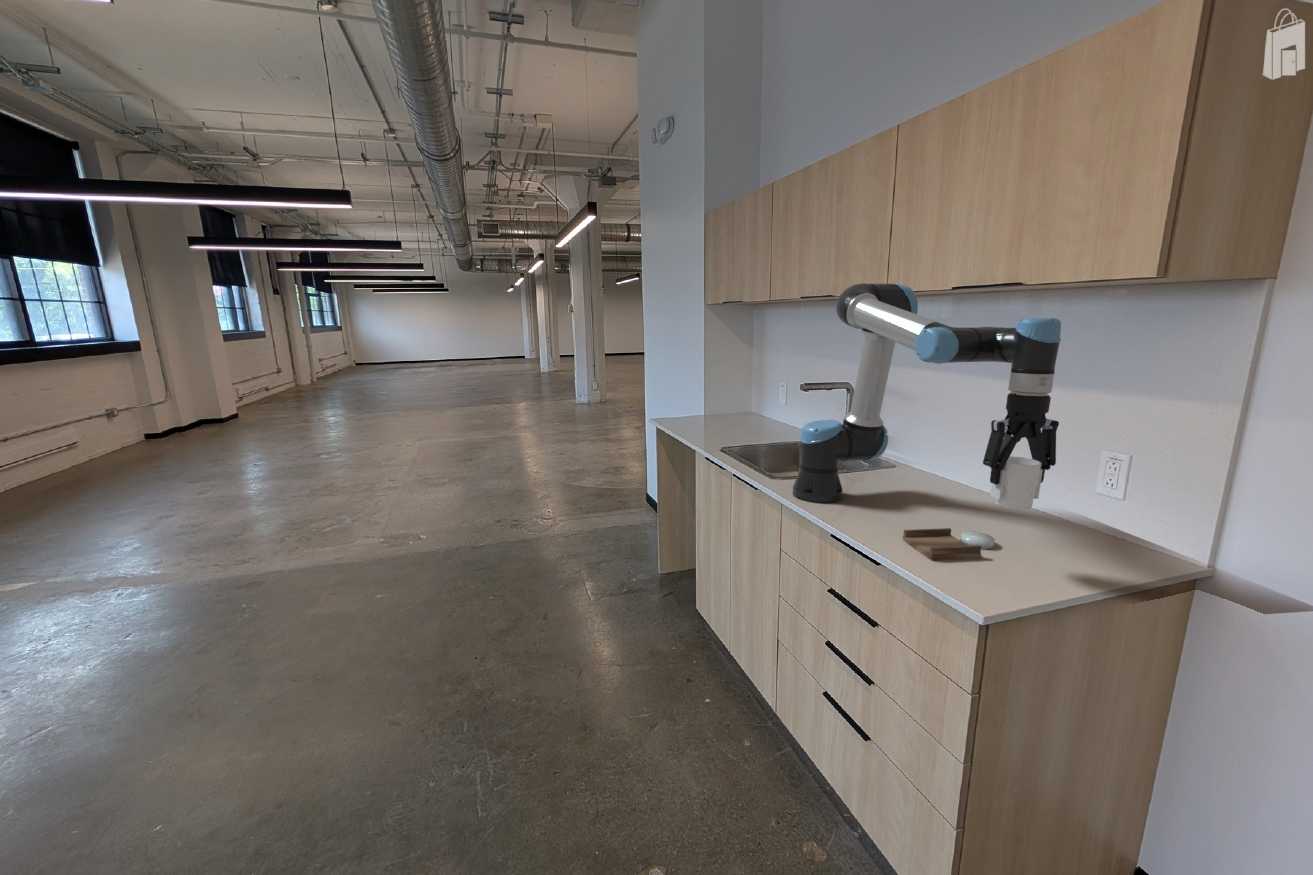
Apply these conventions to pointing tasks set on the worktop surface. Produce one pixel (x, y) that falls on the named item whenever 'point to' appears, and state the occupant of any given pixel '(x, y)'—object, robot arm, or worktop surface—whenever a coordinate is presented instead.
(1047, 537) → the worktop surface
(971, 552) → the stand
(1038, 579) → the worktop surface
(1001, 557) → the worktop surface
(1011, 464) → the white cup
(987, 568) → the worktop surface
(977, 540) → the pale mint domed disc
